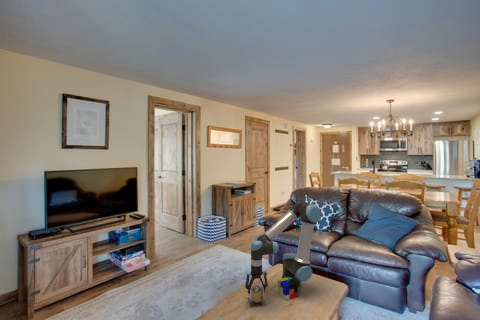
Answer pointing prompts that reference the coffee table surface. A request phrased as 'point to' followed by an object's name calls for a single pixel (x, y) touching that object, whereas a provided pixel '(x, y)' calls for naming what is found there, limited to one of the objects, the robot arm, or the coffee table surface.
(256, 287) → the peg on square base
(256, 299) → the ring
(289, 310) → the coffee table surface
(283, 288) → the puzzle toy
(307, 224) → the robot arm
